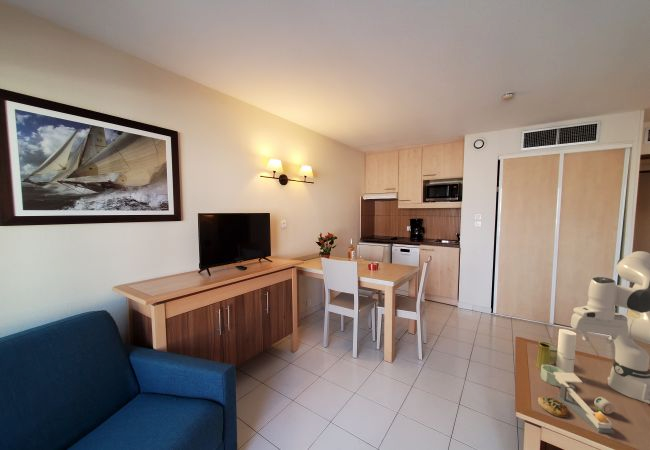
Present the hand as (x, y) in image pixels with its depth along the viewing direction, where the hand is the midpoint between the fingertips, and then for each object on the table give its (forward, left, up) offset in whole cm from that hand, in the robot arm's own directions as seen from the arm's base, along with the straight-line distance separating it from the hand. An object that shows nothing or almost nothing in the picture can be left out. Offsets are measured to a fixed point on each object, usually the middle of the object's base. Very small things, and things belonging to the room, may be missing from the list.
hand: (597, 341), depth 117 cm
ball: (+8, +11, -28) cm, 31 cm away
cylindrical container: (-10, -25, -33) cm, 42 cm away
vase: (-2, -30, -33) cm, 44 cm away
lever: (+4, 0, -28) cm, 28 cm away
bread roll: (+19, +1, -33) cm, 38 cm away
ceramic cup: (-13, -38, -33) cm, 52 cm away
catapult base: (+8, +4, -33) cm, 34 cm away
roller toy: (-4, +2, -33) cm, 33 cm away
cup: (+2, -19, -33) cm, 38 cm away
